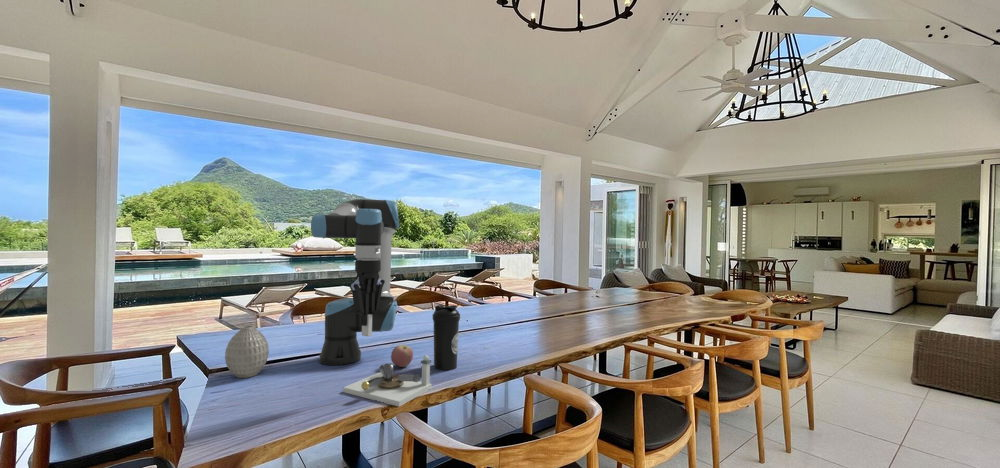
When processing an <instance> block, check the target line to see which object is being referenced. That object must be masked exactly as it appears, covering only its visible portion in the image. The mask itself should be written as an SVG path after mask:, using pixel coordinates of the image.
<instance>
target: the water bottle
mask: <svg viewBox="0 0 1000 468" xmlns="http://www.w3.org/2000/svg"><path fill="white" fill-rule="evenodd" d="M457 308H458V305H457V304H456V305H455V304H452V305H445V306H444V305H443V304H438V305H436V306H435V307H434V312H433V313H432V321H433V368H434V369H435V370H438V371H442V372H443V371H445V372H446V371H452V370H455V369H457V368H458V351H459V350H458V349H459V347H458V346H459V331H460V329H459V327H460V320H461V314H460V312H459V310H457Z"/></svg>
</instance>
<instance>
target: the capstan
mask: <svg viewBox="0 0 1000 468" xmlns="http://www.w3.org/2000/svg"><path fill="white" fill-rule="evenodd" d="M378 371H379V372H381V373H382V375H383V376H382V377H380V378H379V377H377V378H375V379H372V380H369V381H365V382H363V383H362V385H361V387H362V389H363V390H367V389H368V388H371V387H374V386H376V385H378V386H379V387H380V388H384V389H393V388H398V387H400V386H402V385H403V384H404V381H412V382H419V381H421V375H420V374H418V373H417V374H416V373H415V374H404V373H403V374H402V373H401V374H394V363H390V362H389V363H385V364H381V365H380V366H379V368H378Z"/></svg>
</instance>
